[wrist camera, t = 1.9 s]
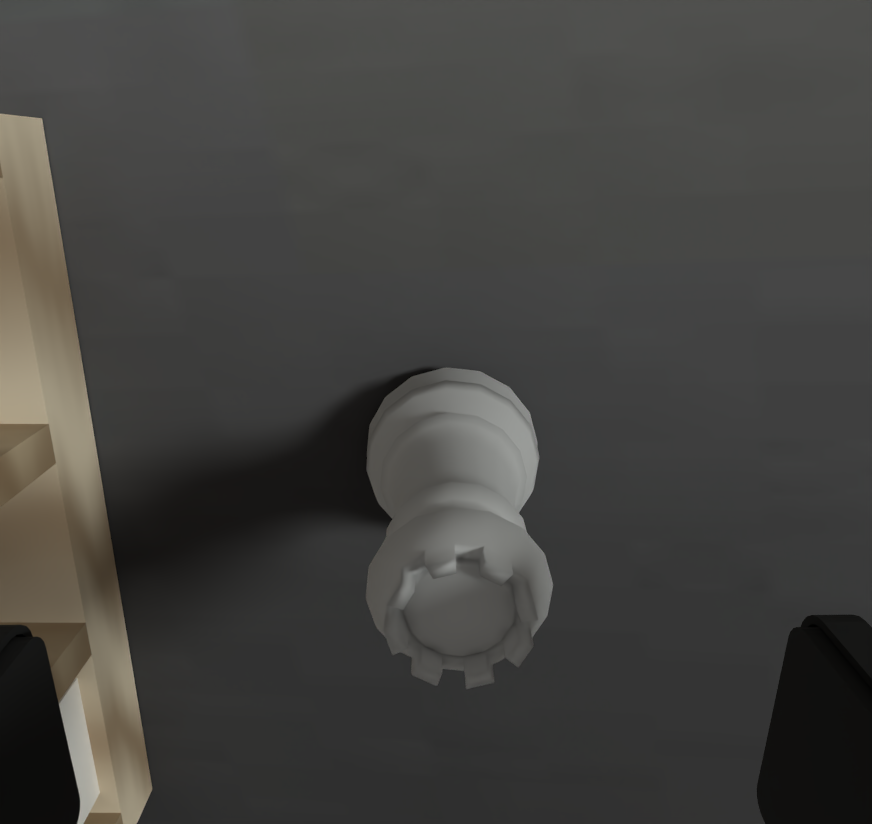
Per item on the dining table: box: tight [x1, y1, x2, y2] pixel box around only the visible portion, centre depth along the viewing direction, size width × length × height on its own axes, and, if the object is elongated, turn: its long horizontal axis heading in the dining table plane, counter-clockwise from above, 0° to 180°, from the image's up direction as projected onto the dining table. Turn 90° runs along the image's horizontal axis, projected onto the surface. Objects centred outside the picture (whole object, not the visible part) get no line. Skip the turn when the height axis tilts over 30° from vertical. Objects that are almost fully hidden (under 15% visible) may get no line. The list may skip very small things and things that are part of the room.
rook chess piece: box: [366, 367, 553, 689], centre depth 15 cm, size 4×4×8 cm
